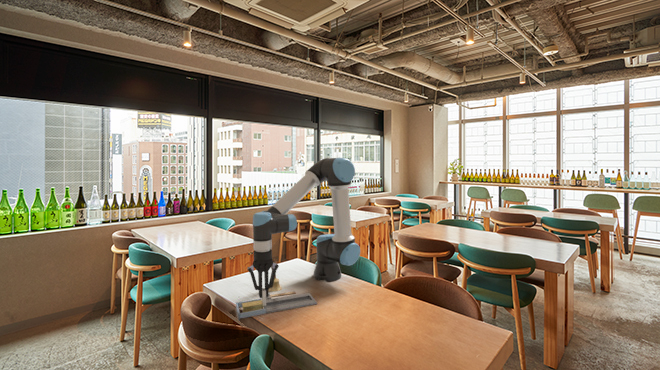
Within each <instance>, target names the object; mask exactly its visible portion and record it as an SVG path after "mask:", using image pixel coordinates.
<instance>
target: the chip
mask: <svg viewBox="0 0 660 370" xmlns="http://www.w3.org/2000/svg"><path fill="white" fill-rule="evenodd" d="M241 310H242V313H244V312H249V311H253V304H252V302H247V303H242V307H241Z"/></svg>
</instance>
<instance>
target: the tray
mask: <svg viewBox="0 0 660 370" xmlns="http://www.w3.org/2000/svg"><path fill="white" fill-rule="evenodd" d="M259 300H262V298H257V299H250V300H244V301H243V300H242V301H238V302H235V310H236V315H237V319H238V322H240V320H241V319H244V318H245V319H246V318H251V317H255V316H256V317H257V316H259V315H265V314H266V309H264V308H263V309H260V310H255V311H249V312H244V313H243V312H240V308H242V303H247V302H253V301H259Z"/></svg>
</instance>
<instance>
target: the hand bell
mask: <svg viewBox="0 0 660 370" xmlns="http://www.w3.org/2000/svg"><path fill="white" fill-rule="evenodd" d="M272 260H273V262H274V263H277V261H276V259H275V258H273V257H272ZM270 269H271V270H272V266H271V268H270ZM282 289H283V288H282V286H281V284H280V280H279V278H277V275H276V274H275V279H274V283H273V287H272V288H269V290H268V292H279V291H281V290H282Z"/></svg>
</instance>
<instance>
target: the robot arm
mask: <svg viewBox="0 0 660 370" xmlns="http://www.w3.org/2000/svg"><path fill="white" fill-rule="evenodd" d="M355 175H356V168H355V165H354V163H353V162H352V161H351V160H350V159H349V158H346V157H331V158H330V157H329V158H328V157H327V158H322V159H319V160H318V161H317V162H316V163H314V164H312V166H310V167H309V168H308V169H307V170H306V171H305V173H304V176H303V177H301V179H300V180H298V181H297V182H296V183H295V184H294V185H293V186H291V188H290V189H288V190H287V191H286V192H285V193H284V194H283V195H282V196H281V197H280V198H279V199H278V200H277V201H276V202H275V203H273V205H271V206H270V207H269V208H268V209H267V210H262V211H260V212H255V213H254V214H253V216H252V232H253V233H252V235H253V239H252V241H253V260H252V261H253V262H252V265H250V266H247V271H248V273H249V274H250V277H251V280H252V281H251V282H252V285H253V287H254V289H255V291H258V297H259V299H261V300H262V303H263V306H266V300H267V297H268V296H269V295H268V294H269V291H268V290H269V288H272V287H273V283H274V279H275V274H276V273H277V270H278V268H279V267H280V266H279V265H278V263H277V262H276V263H274V262H273V260H272V259H273V250H272V248H273V245H272V244H273V243H272V240H273V237H272V235H275V234H282V233H289V232H292V231H295V230H296V228H297V226H298V221H297V217H296V215H294V214H293V213H289V212H290V211H291V210H292V209H293V208H294V207H295V206H296V205H297V204H299V202H300V201H302V199H303V198H304V197H306V195H307V194H309V193H310V192H311V191H312V190H313V189H314V188H315V187H318V186H320V185H321V183H323V182H327V187H329V189H330V191H331V192H330V193H331V204H332V218H333V219H332V221H333V231H334V233H327V234H320V235H318V236H317V237H316V264H315V267H314V270H313V278H314V279H315V280H317V281H325V282H335V281H338V280H339V279H341V278H342V271H341V270H342V269H341V267H340V264H341V265H342V266H343V265H344V266H353V265H354V264H356V263H357V261H358V260H359V259H360V255H361V248H360V245H359V244H358V243H356V238H355V236H354V235H353V234H352V222H351V210H350V209H351V207H350V194H349V193H350V192H349V187H350V186H351V185H352V180H353V179H354V177H355ZM271 266H272V269H271ZM270 269H271V272H270V277H269V271H270ZM255 270H256V271H257V275H258V276H257V277H258V284H257V281H256V276H255V273H254V271H255ZM263 273H264V274H263ZM263 275H264V276H263ZM263 277H264V288H263ZM269 278H270V279H269Z"/></svg>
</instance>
